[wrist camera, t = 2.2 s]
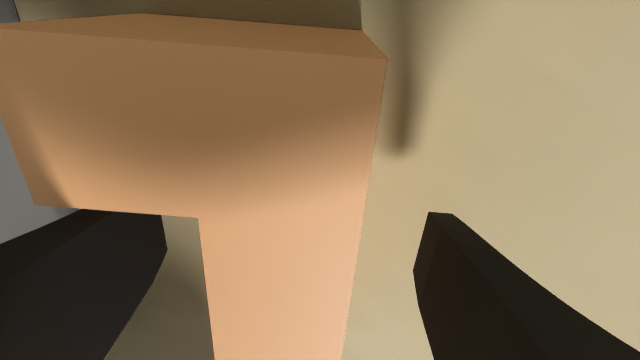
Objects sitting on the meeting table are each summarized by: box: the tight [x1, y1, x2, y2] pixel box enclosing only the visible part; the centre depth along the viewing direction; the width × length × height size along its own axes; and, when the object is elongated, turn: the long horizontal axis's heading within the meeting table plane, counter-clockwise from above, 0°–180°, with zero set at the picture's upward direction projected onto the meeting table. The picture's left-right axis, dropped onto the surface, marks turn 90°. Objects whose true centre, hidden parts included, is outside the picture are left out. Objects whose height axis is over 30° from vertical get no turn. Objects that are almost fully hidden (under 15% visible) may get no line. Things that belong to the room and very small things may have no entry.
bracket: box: [0, 13, 388, 360], centre depth 9 cm, size 10×6×5 cm, turn 176°
